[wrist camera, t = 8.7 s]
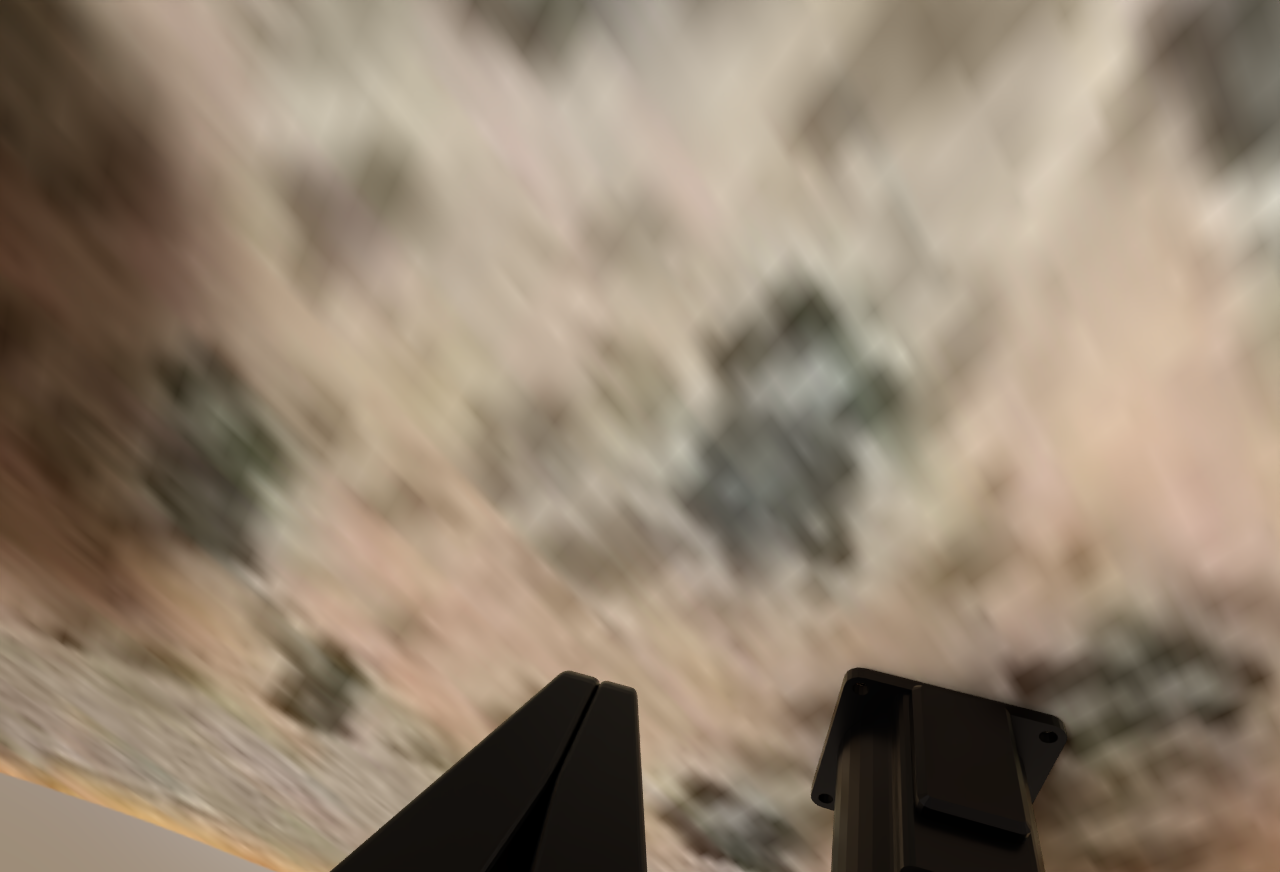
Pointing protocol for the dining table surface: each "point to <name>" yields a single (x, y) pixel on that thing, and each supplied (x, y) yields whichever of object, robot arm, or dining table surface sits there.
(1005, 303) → the dining table surface
